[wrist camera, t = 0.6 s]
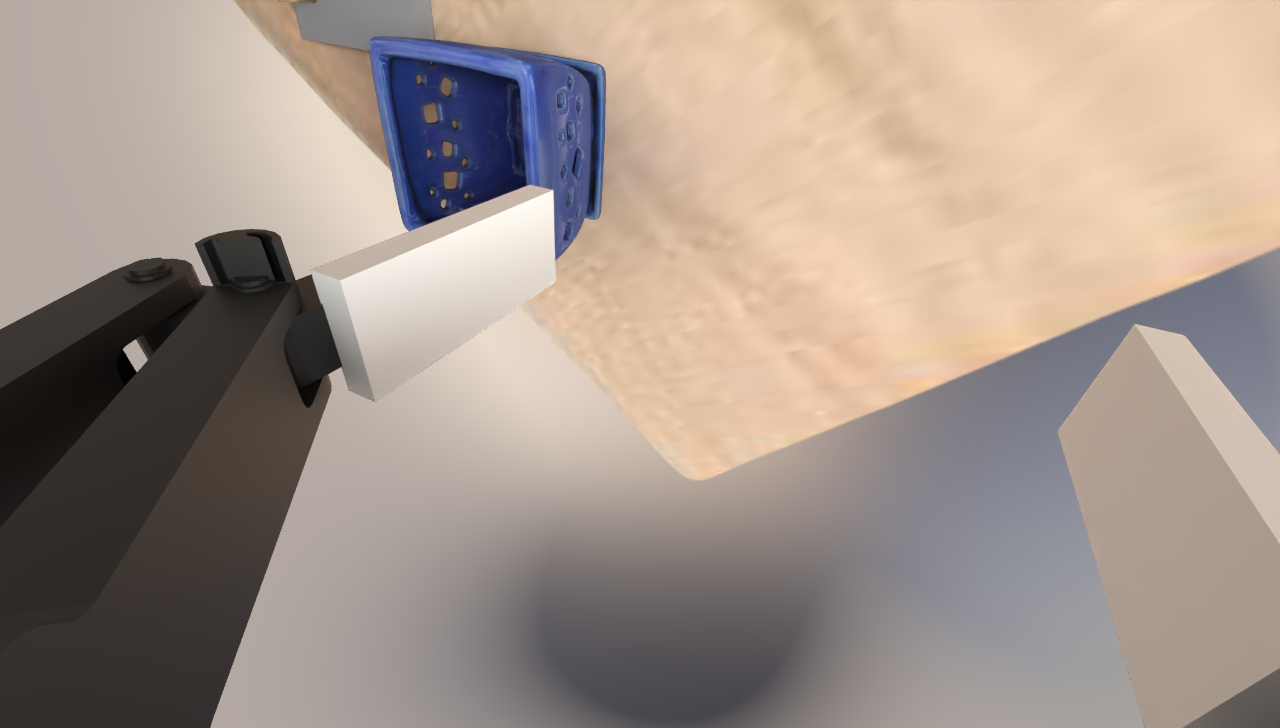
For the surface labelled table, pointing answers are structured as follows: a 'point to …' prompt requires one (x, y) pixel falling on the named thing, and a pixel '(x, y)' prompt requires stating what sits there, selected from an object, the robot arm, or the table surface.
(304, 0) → the dowel pin
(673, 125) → the table surface
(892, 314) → the table surface
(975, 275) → the table surface
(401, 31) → the post base
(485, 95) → the flower pot
